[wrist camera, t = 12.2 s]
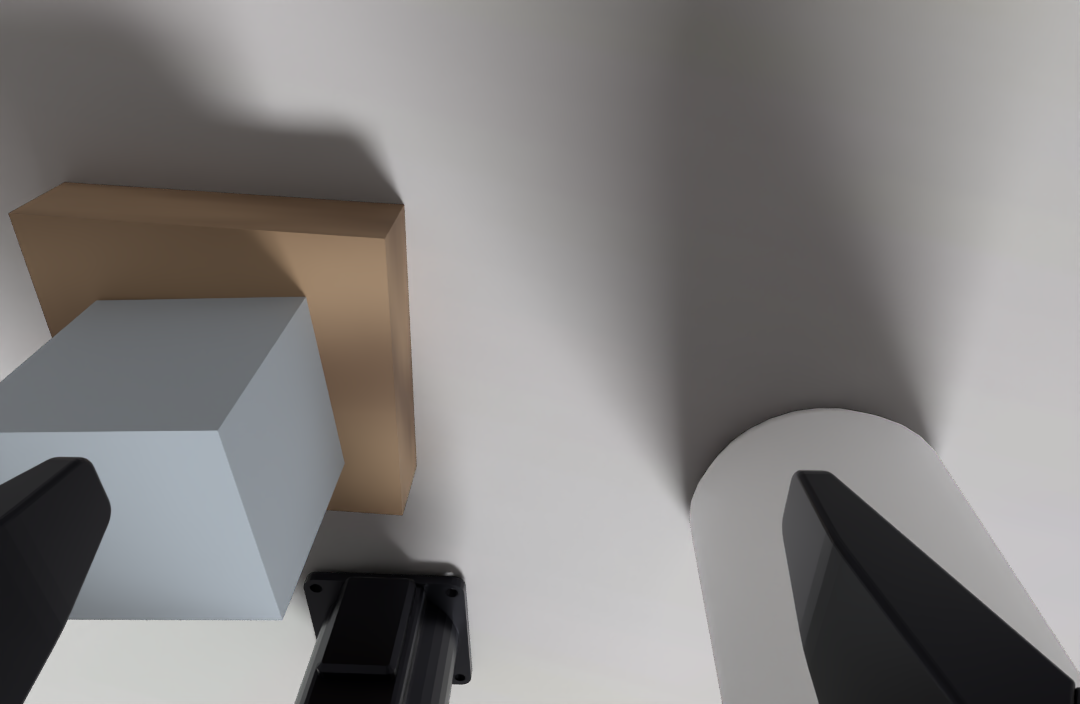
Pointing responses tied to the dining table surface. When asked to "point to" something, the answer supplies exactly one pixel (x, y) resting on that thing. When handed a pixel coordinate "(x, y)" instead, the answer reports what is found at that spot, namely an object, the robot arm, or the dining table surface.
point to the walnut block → (254, 293)
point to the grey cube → (186, 449)
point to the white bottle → (759, 554)
